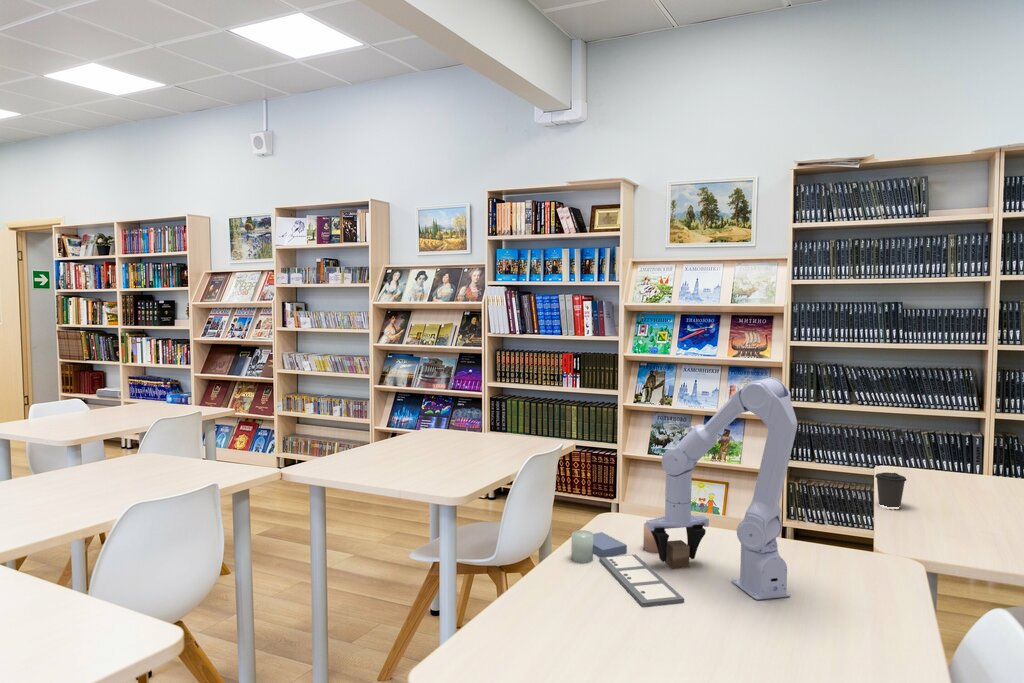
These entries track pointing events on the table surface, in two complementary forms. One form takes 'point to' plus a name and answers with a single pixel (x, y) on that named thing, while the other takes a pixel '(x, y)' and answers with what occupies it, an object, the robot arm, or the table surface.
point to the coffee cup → (890, 489)
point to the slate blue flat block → (607, 546)
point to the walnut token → (677, 554)
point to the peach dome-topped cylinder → (649, 541)
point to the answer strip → (641, 581)
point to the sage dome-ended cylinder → (582, 546)
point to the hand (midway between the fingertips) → (676, 558)
